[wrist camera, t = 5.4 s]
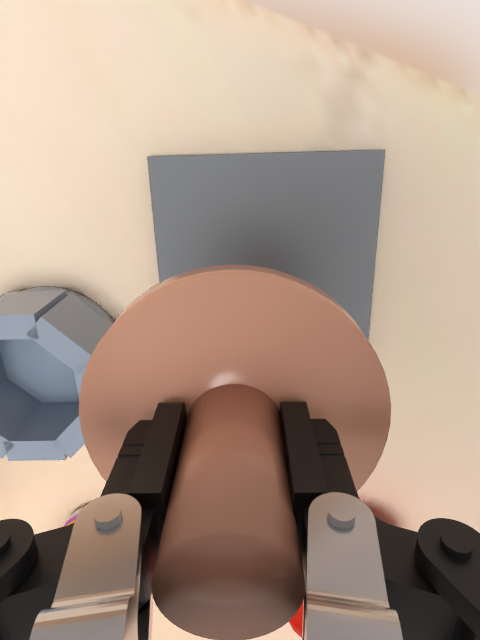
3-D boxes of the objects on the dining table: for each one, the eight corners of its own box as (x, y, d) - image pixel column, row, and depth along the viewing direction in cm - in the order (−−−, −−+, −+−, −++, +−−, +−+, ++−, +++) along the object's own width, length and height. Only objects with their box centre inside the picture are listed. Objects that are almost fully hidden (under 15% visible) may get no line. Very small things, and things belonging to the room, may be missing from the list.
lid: (392, 260, 12) (534, 364, 6) (366, 509, 15) (441, 731, 9) (69, 268, 12) (-94, 378, 6) (113, 513, 15) (34, 733, 10)
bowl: (117, 284, 29) (89, 313, 24) (134, 410, 32) (114, 459, 27) (-29, 287, 29) (-87, 316, 24) (5, 413, 33) (-40, 461, 28)
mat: (382, 149, 26) (385, 149, 25) (363, 359, 31) (365, 363, 30) (149, 156, 26) (147, 156, 25) (169, 363, 31) (168, 367, 30)
